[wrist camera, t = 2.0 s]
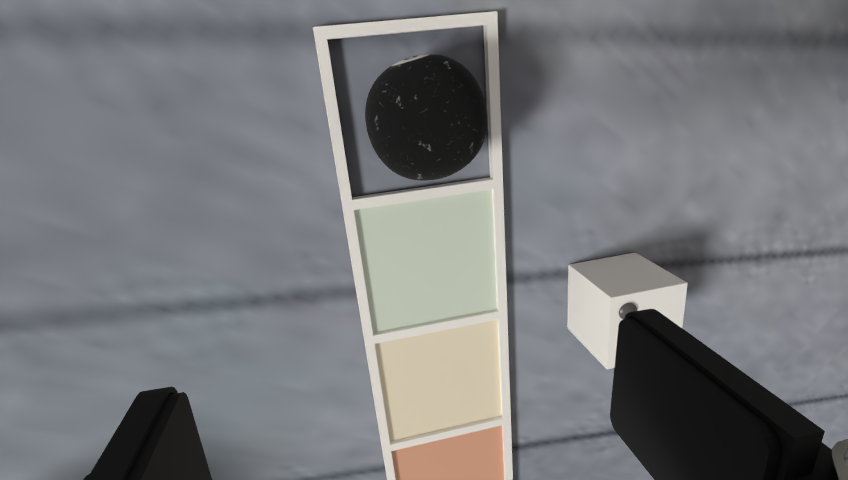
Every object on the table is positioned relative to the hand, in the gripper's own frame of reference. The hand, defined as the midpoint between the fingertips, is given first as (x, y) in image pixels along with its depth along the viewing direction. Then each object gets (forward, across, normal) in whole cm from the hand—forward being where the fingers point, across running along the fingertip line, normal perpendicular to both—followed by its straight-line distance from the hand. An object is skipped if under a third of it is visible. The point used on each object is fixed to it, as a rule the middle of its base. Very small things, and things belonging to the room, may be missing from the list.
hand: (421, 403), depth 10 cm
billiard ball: (+19, -3, -4) cm, 19 cm away
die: (+19, -16, +9) cm, 26 cm away
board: (+18, -4, +9) cm, 21 cm away
